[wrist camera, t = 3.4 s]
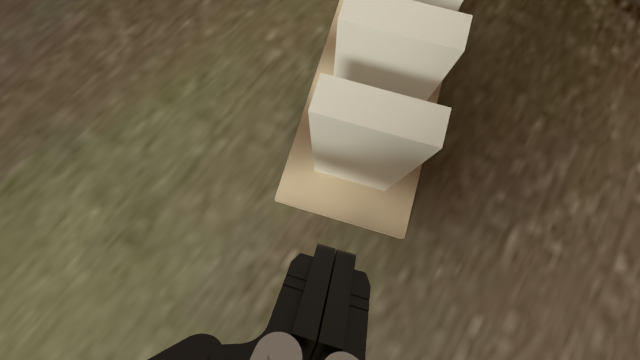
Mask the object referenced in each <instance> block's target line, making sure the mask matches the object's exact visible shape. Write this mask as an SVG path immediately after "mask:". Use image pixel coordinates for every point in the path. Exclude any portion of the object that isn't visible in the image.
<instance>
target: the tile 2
mask: <svg viewBox="0 0 640 360" xmlns="http://www.w3.org/2000/svg"><path fill="white" fill-rule="evenodd" d="M472 17H473V15H469V14H465V13H461V12H457V11H453V10H449V9H445V8H441V7H437V6H433V5H429V4H425V3H421V2H417V1H413V0H344V1H343V4H342V7H341V10H340V13H339V16H338V23H337V37H336V50H335V64H334V76H335V77H339V78H343V79H346V80H350V81H354V82H357V83H361V84H365V85H368V86H372V87H376V88H380V89H383V90H387V91H391V92H394V93H398V94H402V95H406V96H409V97H413V98H417V99H420V100H424V101H427V100H428V98H429V97H430V96H431V94H432V93H433V92H434V90H435V89H436V88H437V87H438V85H439V84H440V83H441V81H442V80H443V79H444V77H445V76H446V75H447V73H448V72H449V71H450V69H451V68H452V67H453V66H454V64H455V63H456V62H457V60H458V59H459V58H460V56H461V55H462V54H463V52H464V51H465V47H466V43H467V38H468V34H469V30H470V25H471V21H472Z"/></svg>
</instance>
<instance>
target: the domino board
mask: <svg viewBox="0 0 640 360" xmlns="http://www.w3.org/2000/svg"><path fill="white" fill-rule="evenodd" d="M343 1H344V0H340V1H339V4H338V7H337V10H336V13H335V16H334V19H333V22H332V25H331V29H330V32H329V35H328V38H327V41H326V44H325V47H324V50H323V53H322V56H321V59H320V62H319V65H318V68H317V71H316V74H315V77H314V80H313V84H312V87H311V90H310V93H309V96H308V99H307V102H306V105H305V108H304V111H303V114H302V117H301V120H300V123H299V126H298V129H297V132H296V135H295V139H294V142H293V145H292V148H291V151H290V154H289V157H288V160H287V163H286V166H285V169H284V172H283V175H282V178H281V181H280V184H279V187H278V190H277V194H276V197H275V201H276V202H279V203H283V204H286V205H289V206H293V207H296V208H299V209H303V210H306V211H309V212H313V213H316V214H319V215H323V216H326V217H329V218H333V219H336V220H340V221H343V222H346V223H350V224H353V225H356V226H360V227H363V228H366V229H370V230H373V231H376V232H380V233H383V234H386V235H390V236H393V237H397V238H400V239H404V238H405V234H406V230H407V226H408V221H409V217H410V213H411V209H412V205H413V201H414V197H415V192H416V188H417V184H418V180H419V176H420V172H421V168H422V164H421V165H419V166H418V167H417V168H415V169H414V170H413V171H411V172H410V173H409V174H407V175H406V176H405V177H403V178H402V179H401V180H399V181H398V182H397V183H395V184H394V185H392V186H391V187H390V188H388V189H387V190H386V191H383V190H379V189H376V188H373V187H369V186H366V185H362V184H359V183H355V182H352V181H348V180H345V179H341V178H338V177H335V176H331V175H328V174H324V173H321V172H317V171H314V163H313V153H312V144H311V135H310V125H309V116H308V109H309V106H310V103H311V100H312V97H313V94H314V91H315V88H316V85H317V82H318V78H319V75H320V73H324V74H328V75H331V76H334V64H335V50H336V37H337V23H338V16H339V13H340V10H341V7H342V4H343ZM459 10H460V7H459V9H458V11H457V12H459ZM442 81H443V80H442ZM442 81H441V83H440V84H439V85H438V87H437V88H436V89H435V90H434V92H433V93H432V94H431V96H430V97H429V98H428V100H427V101H428V102H431V103H435V104H437V101H438V97H439V93H440V89H441V85H442Z"/></svg>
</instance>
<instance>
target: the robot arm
mask: <svg viewBox="0 0 640 360" xmlns="http://www.w3.org/2000/svg"><path fill="white" fill-rule="evenodd" d="M335 251H336V249H335V248H332V247H328V246H325V245H322V244H317V248H316V251H315V254H314V257H312V256H309V255H305V254H302V253H300V254H299V255H298V256H297V257H296V258H295V259H294V260H293V261H292V262H291V264H290V266H289V269H288V272H287V275H286V277H285V280H284V283H283V286H282V288H281V291H280V294H279V296H278V299H277V302H276V305H275V307H274V310H273V313H272V315H271V318H270V321H269V324H268V326H267V328H266V329H265V331H264V332H263V333H262V334H261V335H260V336H259V337H258V338H256V339H255V340H253V341H250V342H247V343H243V344H224V345H222V344H221V343H220V341H219V340H218V339H217V338H215V337H214V336H211V335H209V334H196V335H192V336H190V337H188V338H186V339H184V340H182V341H180V342H179V343H177V344H175V345H173V346H171V347H170V348H168V349H166V350H164V351H162V352H161V353H159V354H157V355H155V356H153V357H152V358H150V359H148V360H365V351H366V338H367V324H368V311H369V298H370V283H369V281H368V278H367V275H366V273H365V272H361V271H358V270H355V269H354V267H355V260H356V255H355V254H352V253H348V252H345V251H342V250H338V249H337V251H336V253H335Z"/></svg>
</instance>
